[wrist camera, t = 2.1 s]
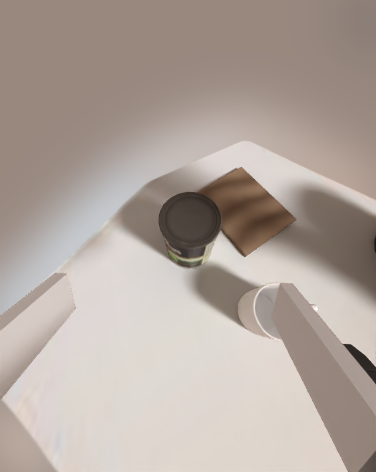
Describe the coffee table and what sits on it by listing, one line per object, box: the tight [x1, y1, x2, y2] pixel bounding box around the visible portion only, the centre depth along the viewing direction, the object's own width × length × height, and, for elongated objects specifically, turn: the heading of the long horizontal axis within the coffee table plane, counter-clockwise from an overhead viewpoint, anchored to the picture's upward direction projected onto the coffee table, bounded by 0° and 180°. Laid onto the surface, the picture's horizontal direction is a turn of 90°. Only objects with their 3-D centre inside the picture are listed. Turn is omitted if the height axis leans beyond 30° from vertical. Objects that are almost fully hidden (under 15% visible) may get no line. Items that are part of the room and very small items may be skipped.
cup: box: [238, 283, 318, 342], centre depth 32 cm, size 8×12×10 cm
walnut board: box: [197, 167, 296, 257], centre depth 46 cm, size 20×16×1 cm
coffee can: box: [159, 192, 222, 269], centre depth 36 cm, size 10×10×14 cm
